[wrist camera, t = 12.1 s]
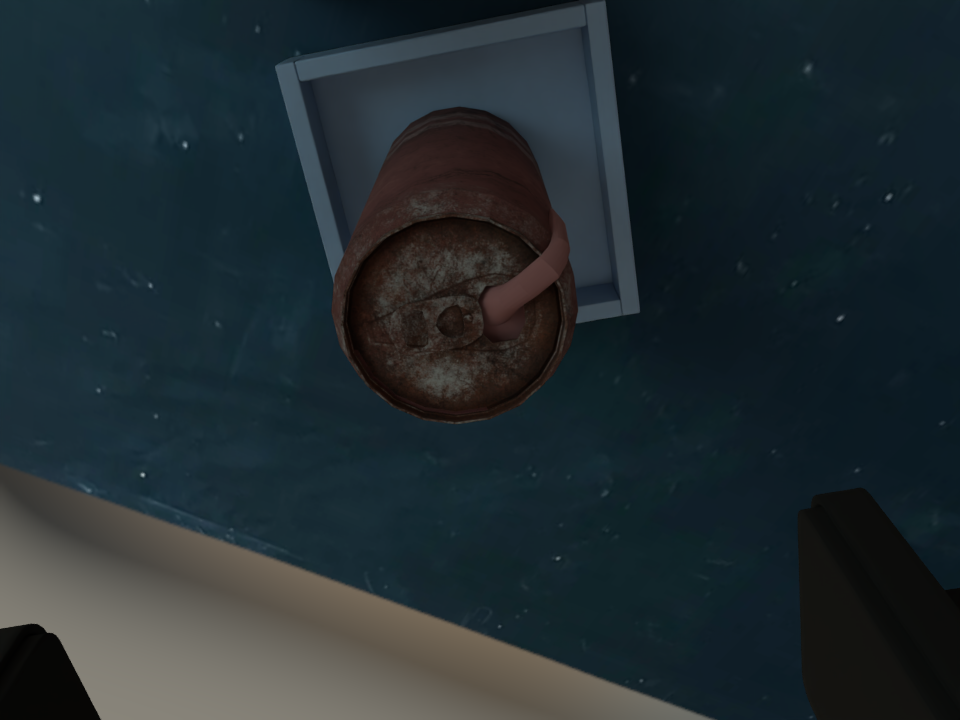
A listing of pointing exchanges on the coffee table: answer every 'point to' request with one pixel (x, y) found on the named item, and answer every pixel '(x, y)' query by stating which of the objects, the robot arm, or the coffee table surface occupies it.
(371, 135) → the blue tray
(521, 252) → the can
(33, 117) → the coffee table surface
